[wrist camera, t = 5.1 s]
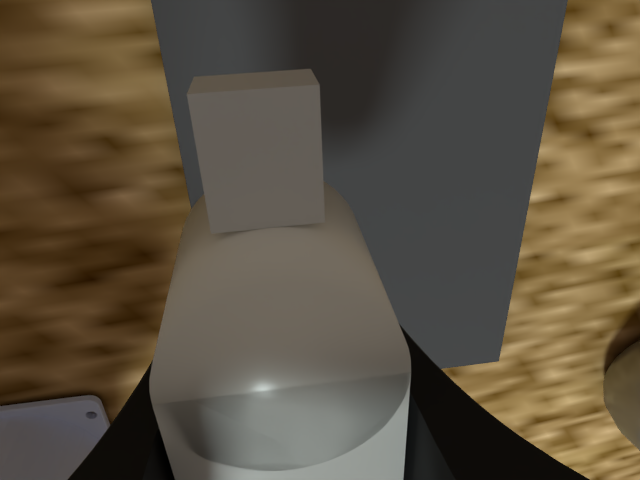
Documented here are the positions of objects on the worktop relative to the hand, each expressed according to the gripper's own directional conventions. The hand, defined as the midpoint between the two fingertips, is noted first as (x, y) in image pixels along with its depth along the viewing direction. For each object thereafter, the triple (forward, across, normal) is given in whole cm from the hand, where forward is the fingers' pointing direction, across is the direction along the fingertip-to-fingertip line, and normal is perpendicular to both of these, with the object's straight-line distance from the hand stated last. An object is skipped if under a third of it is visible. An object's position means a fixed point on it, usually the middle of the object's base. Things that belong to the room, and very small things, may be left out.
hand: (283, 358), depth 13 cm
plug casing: (+1, 0, -1) cm, 2 cm away
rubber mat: (+9, -4, +1) cm, 10 cm away
